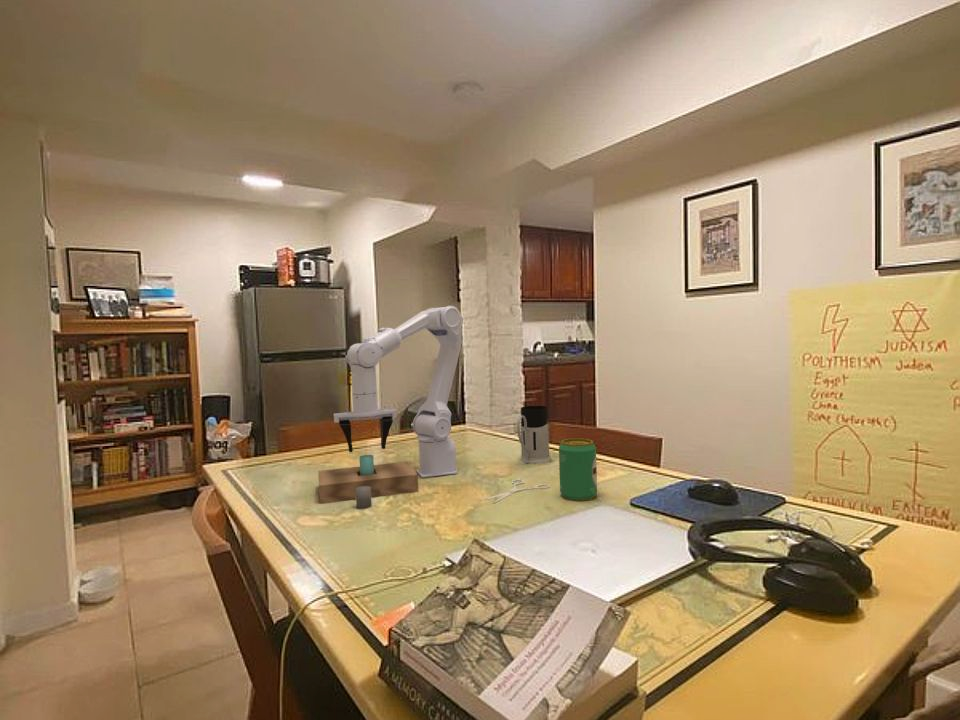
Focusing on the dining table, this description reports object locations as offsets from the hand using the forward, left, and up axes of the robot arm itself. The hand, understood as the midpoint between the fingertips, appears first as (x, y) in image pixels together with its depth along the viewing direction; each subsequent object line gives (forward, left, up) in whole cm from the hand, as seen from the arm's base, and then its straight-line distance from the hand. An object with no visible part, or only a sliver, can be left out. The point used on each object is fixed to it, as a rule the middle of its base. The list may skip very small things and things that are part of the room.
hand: (367, 449), depth 127 cm
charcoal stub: (+2, +14, -9) cm, 17 cm away
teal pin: (0, +1, -9) cm, 9 cm away
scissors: (-31, +17, -10) cm, 36 cm away
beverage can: (-43, +26, -10) cm, 51 cm away
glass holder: (-46, -7, -10) cm, 47 cm away
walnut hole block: (0, +1, -9) cm, 9 cm away
